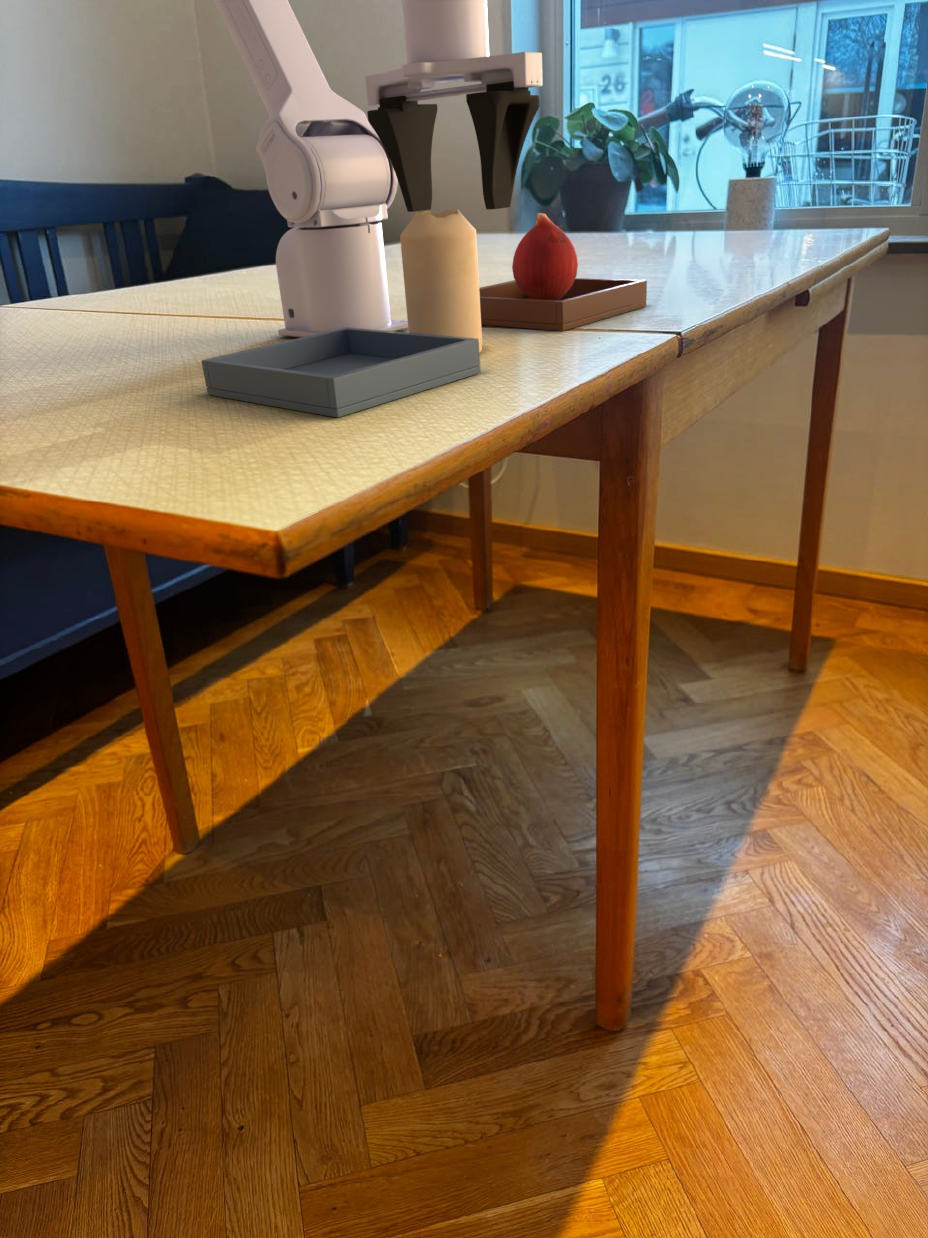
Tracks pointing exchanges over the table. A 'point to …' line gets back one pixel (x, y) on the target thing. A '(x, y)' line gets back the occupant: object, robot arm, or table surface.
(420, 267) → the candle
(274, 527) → the table surface
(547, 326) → the walnut tray
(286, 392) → the gray tray
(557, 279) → the onion
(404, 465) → the table surface
